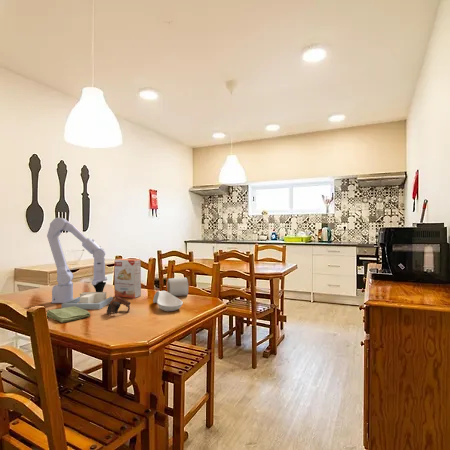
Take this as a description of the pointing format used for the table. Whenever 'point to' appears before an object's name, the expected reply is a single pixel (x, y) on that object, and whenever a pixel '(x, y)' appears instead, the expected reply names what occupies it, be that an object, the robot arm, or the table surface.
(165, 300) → the spoon rest
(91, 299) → the T-block
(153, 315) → the table surface
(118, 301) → the brown arched piece
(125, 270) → the cracker box
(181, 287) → the toilet paper
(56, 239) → the robot arm
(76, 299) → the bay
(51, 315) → the washcloth
